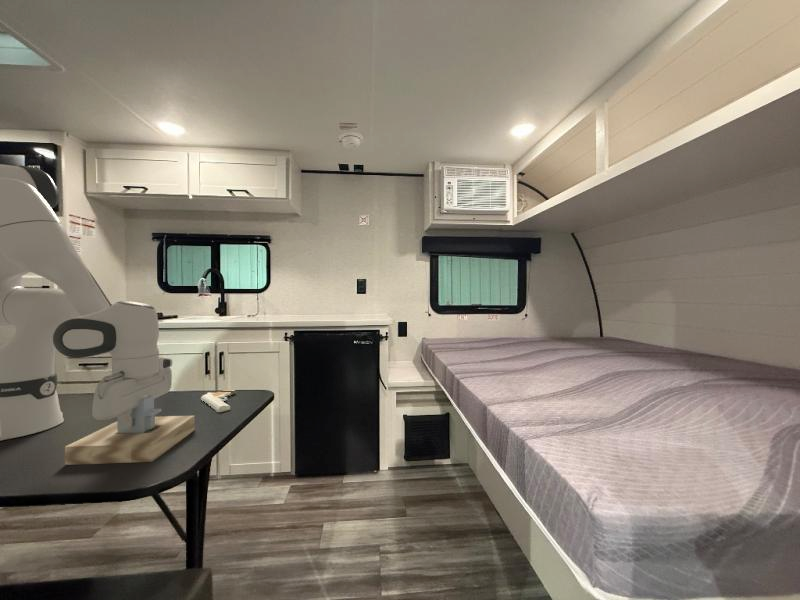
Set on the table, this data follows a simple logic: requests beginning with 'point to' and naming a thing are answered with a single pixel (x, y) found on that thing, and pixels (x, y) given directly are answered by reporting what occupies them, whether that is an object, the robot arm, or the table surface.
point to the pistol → (217, 400)
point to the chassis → (129, 442)
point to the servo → (141, 416)
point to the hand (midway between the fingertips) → (136, 422)
